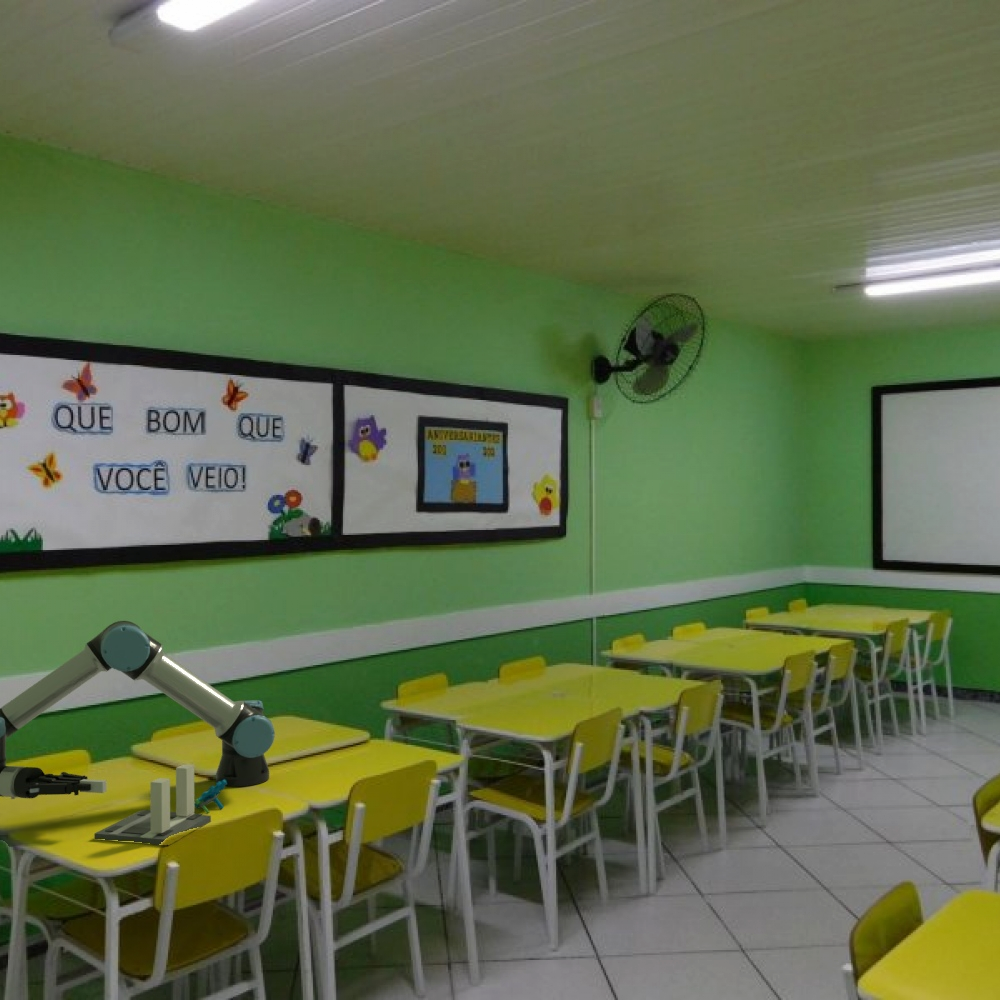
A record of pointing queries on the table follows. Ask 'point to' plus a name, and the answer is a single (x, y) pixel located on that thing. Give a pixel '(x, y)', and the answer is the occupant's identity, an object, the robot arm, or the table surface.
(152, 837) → the two post plate
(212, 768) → the table surface
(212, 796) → the blue green branched piece
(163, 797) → the tab
